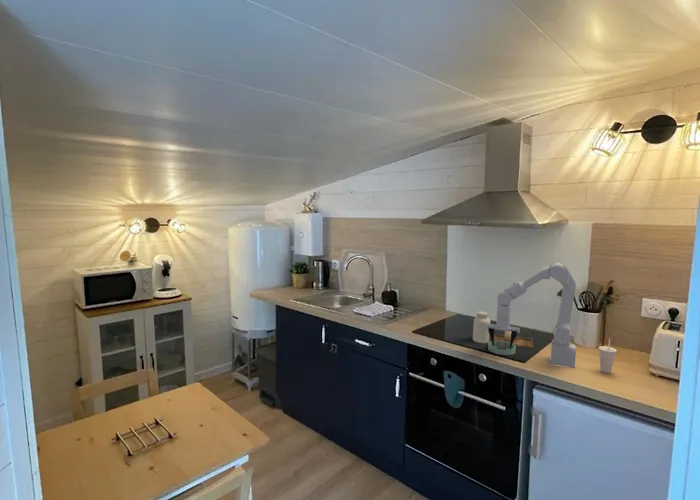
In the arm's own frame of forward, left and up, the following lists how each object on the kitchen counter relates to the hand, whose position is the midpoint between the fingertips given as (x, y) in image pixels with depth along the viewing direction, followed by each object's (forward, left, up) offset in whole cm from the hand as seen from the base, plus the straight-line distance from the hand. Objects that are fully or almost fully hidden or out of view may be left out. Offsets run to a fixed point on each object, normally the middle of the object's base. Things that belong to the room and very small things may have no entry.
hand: (501, 345), depth 182 cm
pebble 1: (0, 0, -3) cm, 3 cm away
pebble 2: (-3, -18, -3) cm, 19 cm away
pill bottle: (+10, -13, -4) cm, 17 cm away
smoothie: (-41, +3, -4) cm, 41 cm away
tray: (-5, -17, -4) cm, 18 cm away
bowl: (0, -3, -4) cm, 5 cm away
